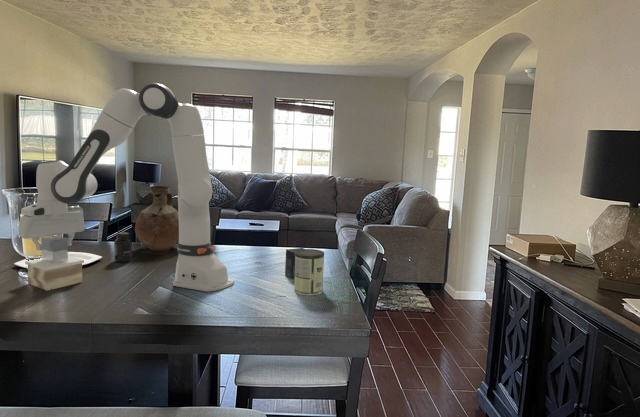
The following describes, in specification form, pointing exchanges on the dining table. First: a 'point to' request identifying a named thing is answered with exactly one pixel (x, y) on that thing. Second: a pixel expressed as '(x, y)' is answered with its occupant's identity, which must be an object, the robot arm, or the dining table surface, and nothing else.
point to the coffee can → (309, 272)
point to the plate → (84, 256)
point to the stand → (54, 273)
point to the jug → (158, 221)
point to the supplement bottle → (122, 248)
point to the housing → (54, 249)
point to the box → (290, 262)
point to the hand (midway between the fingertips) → (54, 247)
